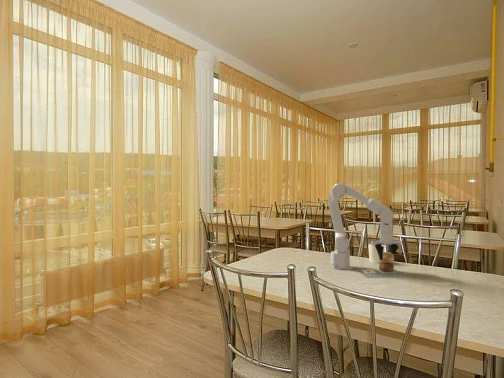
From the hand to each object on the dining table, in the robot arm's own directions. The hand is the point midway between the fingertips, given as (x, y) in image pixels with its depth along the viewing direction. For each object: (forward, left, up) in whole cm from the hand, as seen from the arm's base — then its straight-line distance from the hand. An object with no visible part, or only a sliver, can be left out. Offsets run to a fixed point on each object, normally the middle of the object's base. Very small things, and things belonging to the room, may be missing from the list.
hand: (386, 259), depth 161 cm
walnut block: (0, 0, -6) cm, 6 cm away
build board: (-4, -4, -6) cm, 8 cm away
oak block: (0, 0, -1) cm, 1 cm away
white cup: (+3, +19, -6) cm, 20 cm away
